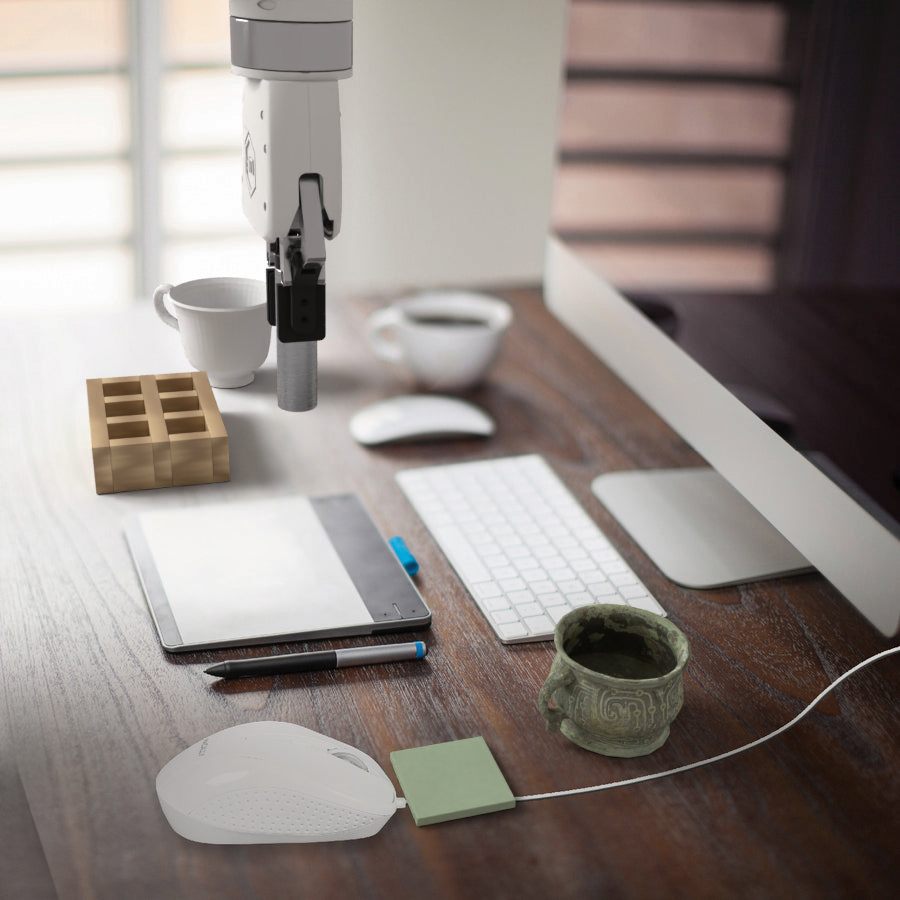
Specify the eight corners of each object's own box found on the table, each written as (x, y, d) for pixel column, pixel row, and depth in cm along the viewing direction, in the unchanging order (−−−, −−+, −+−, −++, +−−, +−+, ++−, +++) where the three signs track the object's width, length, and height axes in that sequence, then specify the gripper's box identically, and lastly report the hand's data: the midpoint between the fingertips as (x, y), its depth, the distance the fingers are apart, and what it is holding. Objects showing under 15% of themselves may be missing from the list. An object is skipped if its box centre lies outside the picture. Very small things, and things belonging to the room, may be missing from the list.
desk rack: (96, 494, 100) (91, 447, 98) (90, 420, 115) (86, 378, 113) (230, 481, 104) (228, 436, 102) (207, 411, 118) (205, 370, 116)
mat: (417, 827, 65) (417, 819, 65) (389, 759, 70) (389, 751, 70) (515, 807, 67) (516, 799, 66) (481, 743, 72) (482, 735, 72)
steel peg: (281, 414, 79) (279, 258, 74) (274, 399, 81) (270, 247, 77) (321, 410, 80) (320, 256, 75) (312, 395, 82) (311, 246, 78)
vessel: (642, 661, 81) (652, 585, 78) (727, 733, 74) (741, 652, 71) (498, 707, 75) (504, 627, 73) (575, 790, 68) (584, 704, 66)
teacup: (188, 350, 135) (183, 268, 130) (301, 370, 130) (300, 285, 126) (128, 383, 124) (120, 295, 120) (248, 406, 120) (245, 315, 116)
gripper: (211, 36, 76) (222, 300, 84) (255, 64, 62) (263, 378, 70) (321, 37, 79) (322, 294, 86) (386, 65, 65) (381, 368, 72)
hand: (295, 329), depth 78 cm, fingers closed on steel peg, 2 cm apart
